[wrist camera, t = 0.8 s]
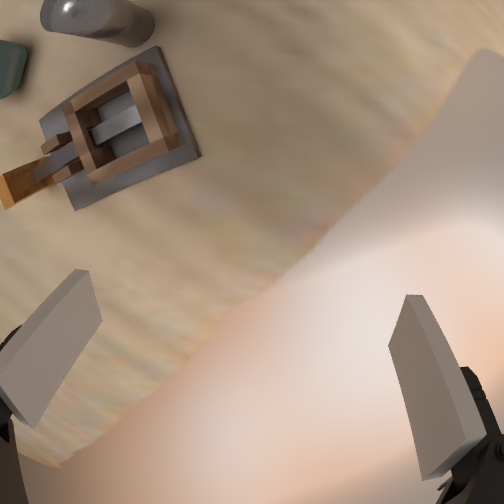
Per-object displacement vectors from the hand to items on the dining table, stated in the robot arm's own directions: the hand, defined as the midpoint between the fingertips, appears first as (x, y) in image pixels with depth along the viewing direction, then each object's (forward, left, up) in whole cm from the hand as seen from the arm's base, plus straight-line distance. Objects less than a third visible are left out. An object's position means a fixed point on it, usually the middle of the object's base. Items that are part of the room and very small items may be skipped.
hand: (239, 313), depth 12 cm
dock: (-11, -16, -24) cm, 31 cm away
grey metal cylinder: (-22, -9, -25) cm, 34 cm away
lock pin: (-11, -20, -24) cm, 33 cm away
